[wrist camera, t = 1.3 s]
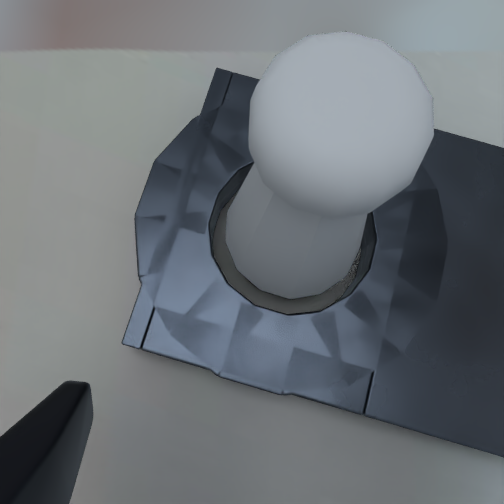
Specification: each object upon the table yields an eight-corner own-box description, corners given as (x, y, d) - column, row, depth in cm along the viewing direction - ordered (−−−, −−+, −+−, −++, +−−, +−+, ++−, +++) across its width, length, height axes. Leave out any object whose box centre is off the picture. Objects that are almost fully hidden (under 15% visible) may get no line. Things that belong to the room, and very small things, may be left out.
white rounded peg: (359, 206, 23) (507, 22, 11) (331, 319, 22) (462, 262, 9) (244, 173, 24) (257, -46, 11) (210, 284, 22) (179, 181, 10)
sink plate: (681, 223, 24) (732, 207, 21) (658, 505, 21) (714, 523, 18) (195, 87, 25) (191, 56, 22) (105, 341, 22) (89, 338, 19)
